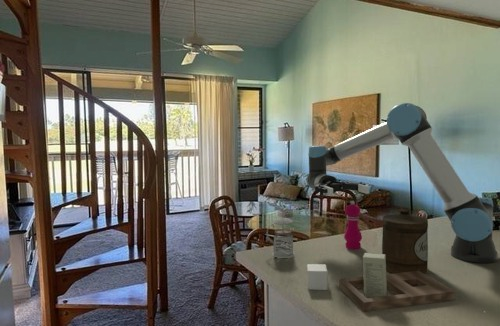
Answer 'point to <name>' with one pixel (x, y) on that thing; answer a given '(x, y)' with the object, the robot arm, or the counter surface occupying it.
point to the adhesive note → (317, 276)
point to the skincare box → (374, 275)
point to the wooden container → (405, 242)
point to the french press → (282, 238)
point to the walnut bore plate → (399, 291)
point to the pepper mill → (353, 227)
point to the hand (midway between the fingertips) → (350, 191)
